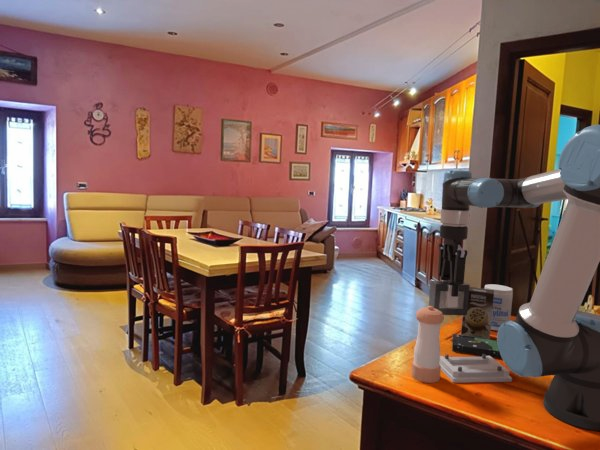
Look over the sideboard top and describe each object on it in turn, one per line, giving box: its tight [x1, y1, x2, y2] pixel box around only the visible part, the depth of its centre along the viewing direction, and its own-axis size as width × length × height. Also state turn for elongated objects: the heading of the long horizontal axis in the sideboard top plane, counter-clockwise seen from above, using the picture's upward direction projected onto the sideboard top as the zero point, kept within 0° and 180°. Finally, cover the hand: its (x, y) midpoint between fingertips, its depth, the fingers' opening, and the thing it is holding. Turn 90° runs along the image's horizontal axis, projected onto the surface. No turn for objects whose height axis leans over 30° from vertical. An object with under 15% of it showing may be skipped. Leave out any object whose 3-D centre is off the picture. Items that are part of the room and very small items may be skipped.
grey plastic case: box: [428, 280, 471, 316], centre depth 132 cm, size 4×10×9 cm, turn 95°
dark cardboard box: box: [460, 286, 494, 339], centre depth 151 cm, size 9×6×16 cm
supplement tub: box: [483, 283, 514, 332], centre depth 161 cm, size 10×10×15 cm
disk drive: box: [451, 333, 503, 360], centre depth 140 cm, size 10×3×15 cm
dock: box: [439, 354, 513, 384], centre depth 123 cm, size 12×16×3 cm
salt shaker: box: [411, 305, 445, 384], centre depth 119 cm, size 7×7×19 cm
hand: (448, 304), depth 132 cm, fingers closed on grey plastic case, 4 cm apart
